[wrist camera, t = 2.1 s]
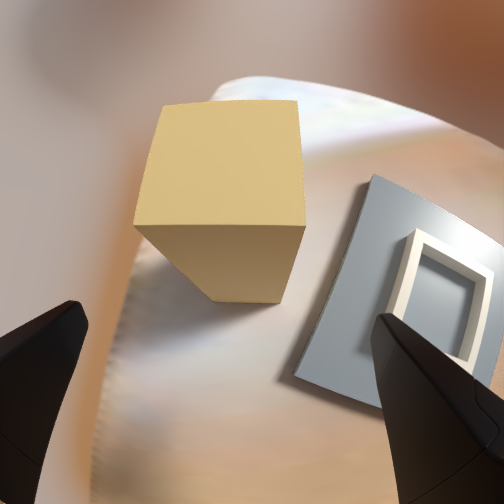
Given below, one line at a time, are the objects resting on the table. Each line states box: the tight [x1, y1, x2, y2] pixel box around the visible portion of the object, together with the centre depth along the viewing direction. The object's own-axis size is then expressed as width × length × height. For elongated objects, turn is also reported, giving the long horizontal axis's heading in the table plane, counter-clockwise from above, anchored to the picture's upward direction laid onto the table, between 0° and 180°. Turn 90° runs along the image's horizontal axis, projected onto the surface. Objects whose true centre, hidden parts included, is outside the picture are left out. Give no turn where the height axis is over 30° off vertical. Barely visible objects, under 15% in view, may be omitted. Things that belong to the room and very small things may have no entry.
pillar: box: [133, 100, 306, 303], centre depth 14 cm, size 4×4×13 cm
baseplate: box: [293, 174, 504, 408], centre depth 17 cm, size 16×16×3 cm
